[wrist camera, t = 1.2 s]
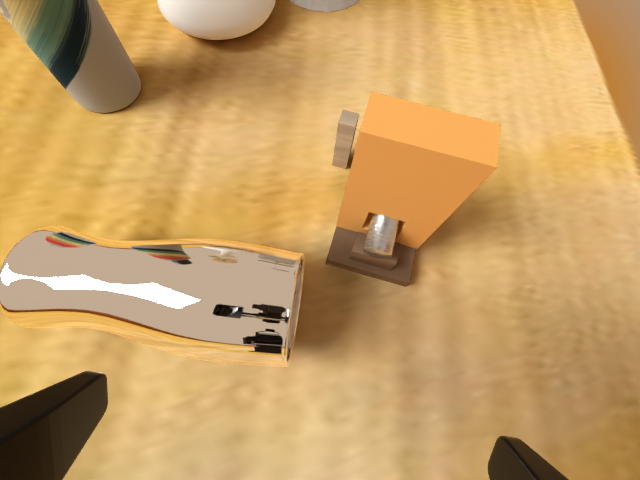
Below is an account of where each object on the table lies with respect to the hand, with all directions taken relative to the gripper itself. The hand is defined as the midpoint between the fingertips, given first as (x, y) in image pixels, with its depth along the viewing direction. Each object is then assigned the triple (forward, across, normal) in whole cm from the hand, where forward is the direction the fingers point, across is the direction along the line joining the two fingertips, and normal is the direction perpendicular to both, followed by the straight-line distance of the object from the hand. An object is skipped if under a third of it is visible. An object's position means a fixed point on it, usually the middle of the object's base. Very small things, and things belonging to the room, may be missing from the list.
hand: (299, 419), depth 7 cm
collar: (+17, -4, -2) cm, 18 cm away
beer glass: (+11, +16, +4) cm, 20 cm away
